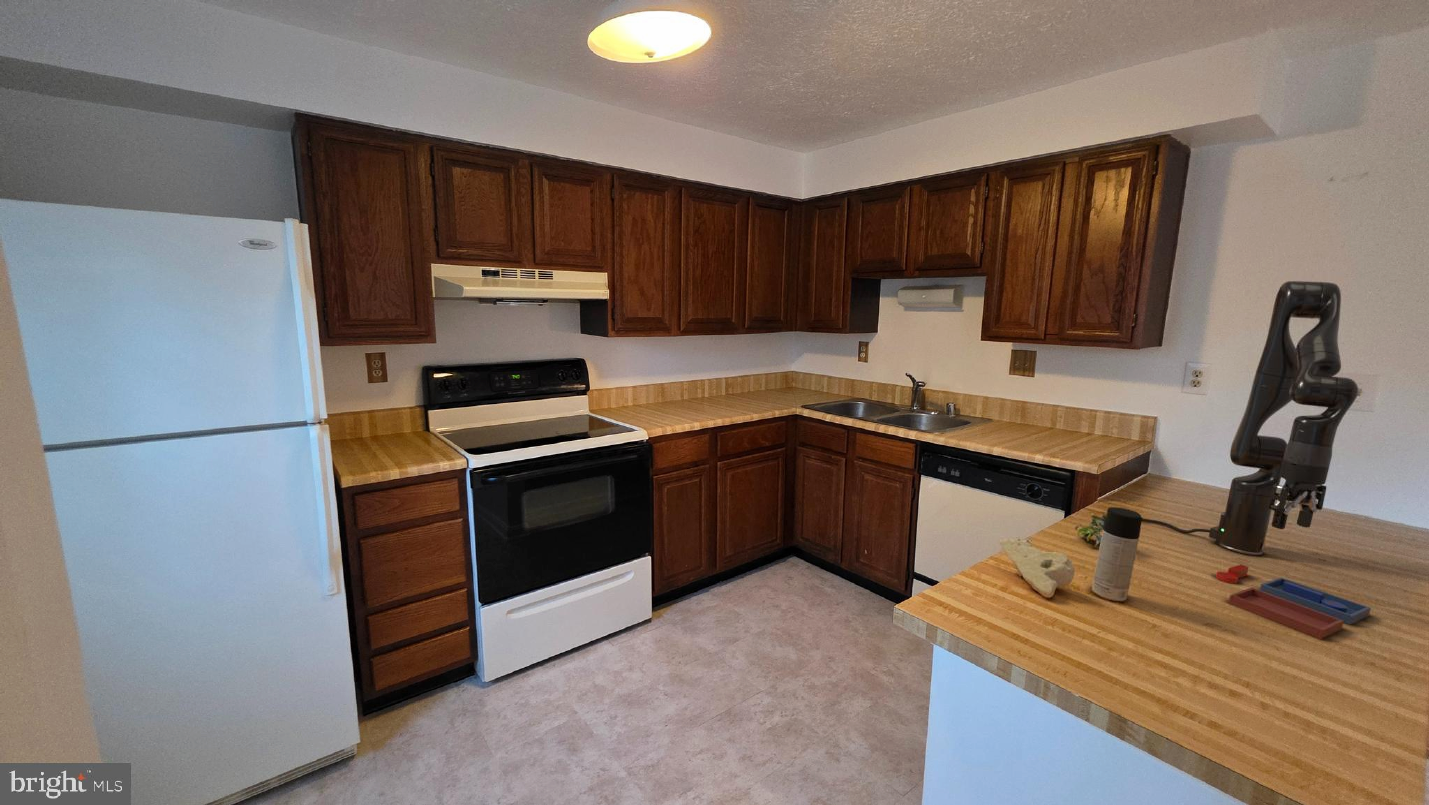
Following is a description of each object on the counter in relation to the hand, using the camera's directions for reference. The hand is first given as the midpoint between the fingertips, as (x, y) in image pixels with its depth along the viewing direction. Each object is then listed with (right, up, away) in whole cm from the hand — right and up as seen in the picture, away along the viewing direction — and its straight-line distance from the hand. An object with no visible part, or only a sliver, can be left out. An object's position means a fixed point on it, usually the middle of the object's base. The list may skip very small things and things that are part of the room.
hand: (1290, 527), depth 133 cm
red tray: (-12, -17, -10) cm, 23 cm away
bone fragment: (-63, -13, -1) cm, 64 cm away
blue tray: (+2, -17, -3) cm, 17 cm away
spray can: (-47, -15, -5) cm, 49 cm away
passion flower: (-28, -11, +24) cm, 39 cm away
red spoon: (-6, -15, +8) cm, 18 cm away
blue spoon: (+2, -17, -4) cm, 17 cm away
